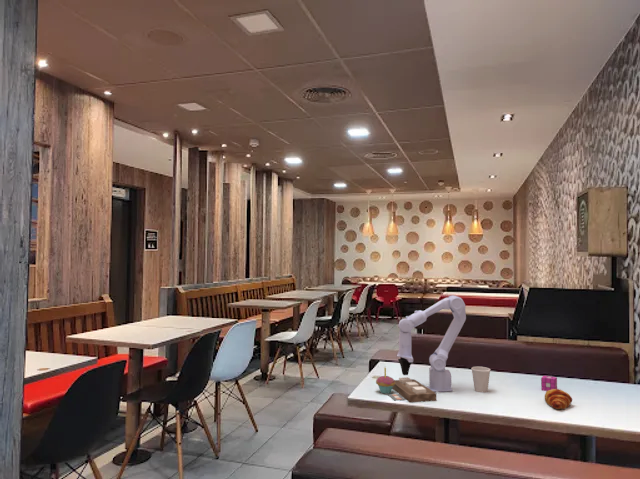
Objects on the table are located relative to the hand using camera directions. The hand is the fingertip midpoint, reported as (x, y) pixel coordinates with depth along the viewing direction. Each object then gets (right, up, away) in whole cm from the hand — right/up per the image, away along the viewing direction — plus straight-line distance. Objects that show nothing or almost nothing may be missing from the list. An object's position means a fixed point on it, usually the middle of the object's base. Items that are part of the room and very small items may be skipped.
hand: (405, 374), depth 212 cm
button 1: (0, -5, 0) cm, 5 cm away
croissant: (+59, -6, -23) cm, 64 cm away
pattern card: (-6, -6, -15) cm, 17 cm away
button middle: (+2, -4, -8) cm, 9 cm away
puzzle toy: (+66, -7, -1) cm, 67 cm away
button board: (+2, -6, -8) cm, 10 cm away
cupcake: (-10, -6, -6) cm, 13 cm away
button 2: (+3, -4, -16) cm, 17 cm away
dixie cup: (+34, -7, -3) cm, 35 cm away
